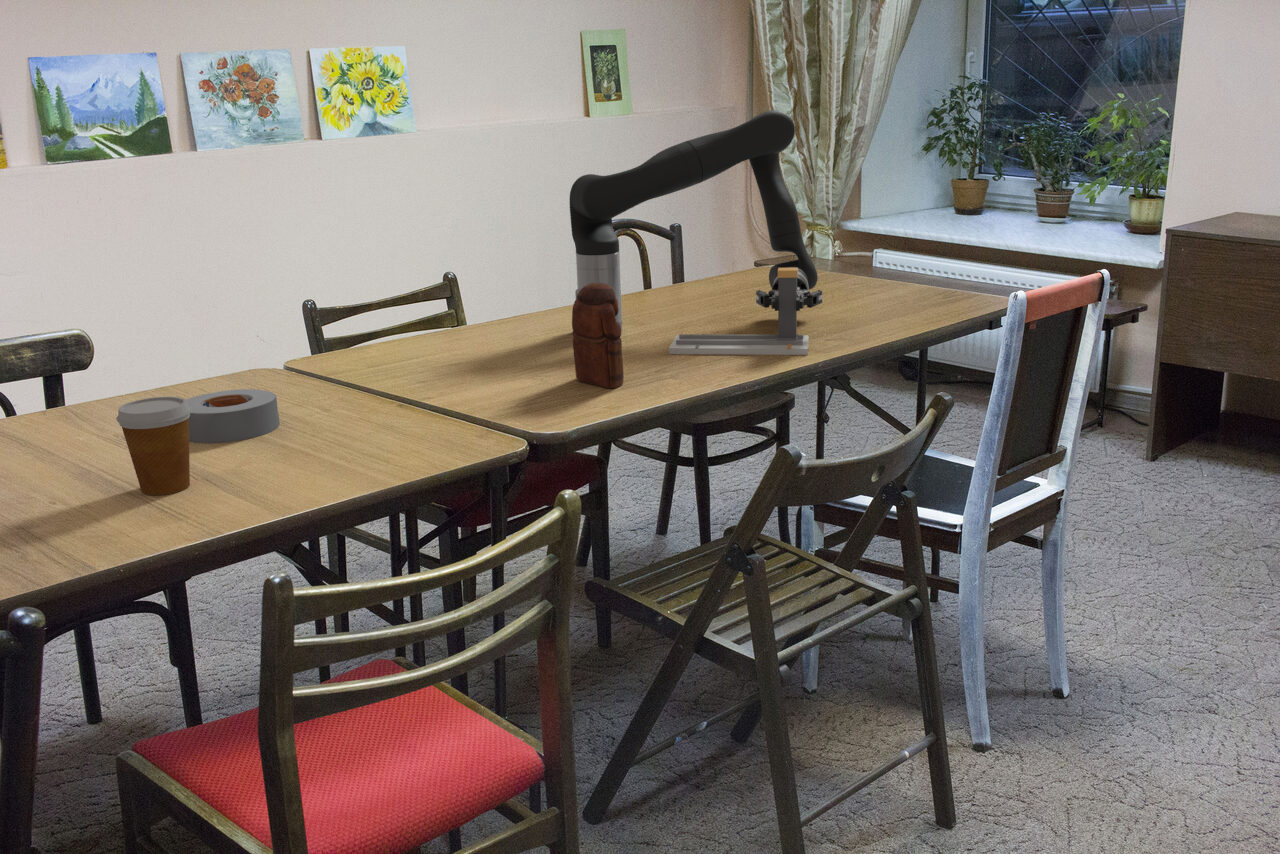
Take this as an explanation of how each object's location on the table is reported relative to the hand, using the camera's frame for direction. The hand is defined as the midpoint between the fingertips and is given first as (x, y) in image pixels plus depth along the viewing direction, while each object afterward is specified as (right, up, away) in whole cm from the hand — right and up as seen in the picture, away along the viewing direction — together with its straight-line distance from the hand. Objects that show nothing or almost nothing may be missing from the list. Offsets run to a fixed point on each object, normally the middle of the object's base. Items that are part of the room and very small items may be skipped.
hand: (787, 305), depth 226 cm
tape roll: (-95, -24, -37) cm, 105 cm away
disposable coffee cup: (-94, -32, -65) cm, 119 cm away
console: (-9, -8, +7) cm, 13 cm away
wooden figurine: (-36, -16, -16) cm, 42 cm away
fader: (+1, -6, +5) cm, 8 cm away
